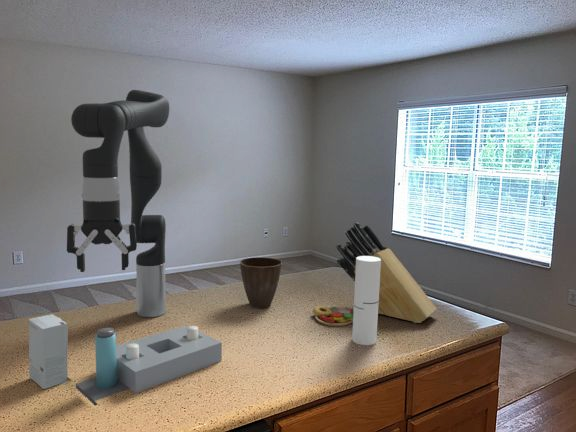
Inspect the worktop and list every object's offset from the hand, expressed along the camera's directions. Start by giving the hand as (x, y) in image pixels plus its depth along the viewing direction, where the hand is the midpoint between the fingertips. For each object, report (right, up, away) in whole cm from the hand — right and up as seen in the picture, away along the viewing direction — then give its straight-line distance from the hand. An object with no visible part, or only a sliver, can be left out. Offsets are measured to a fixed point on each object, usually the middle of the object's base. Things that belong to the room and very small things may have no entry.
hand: (103, 270), depth 104 cm
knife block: (+75, -22, +62) cm, 100 cm away
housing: (+10, -27, +15) cm, 32 cm away
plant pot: (+31, -20, +65) cm, 75 cm away
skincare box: (-16, -27, +7) cm, 32 cm away
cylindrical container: (+64, -25, +36) cm, 77 cm away
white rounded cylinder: (+4, -26, +8) cm, 27 cm away
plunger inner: (+16, -24, +21) cm, 36 cm away
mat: (-1, -28, +4) cm, 28 cm away
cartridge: (-1, -27, +4) cm, 27 cm away
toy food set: (+57, -23, +53) cm, 81 cm away
